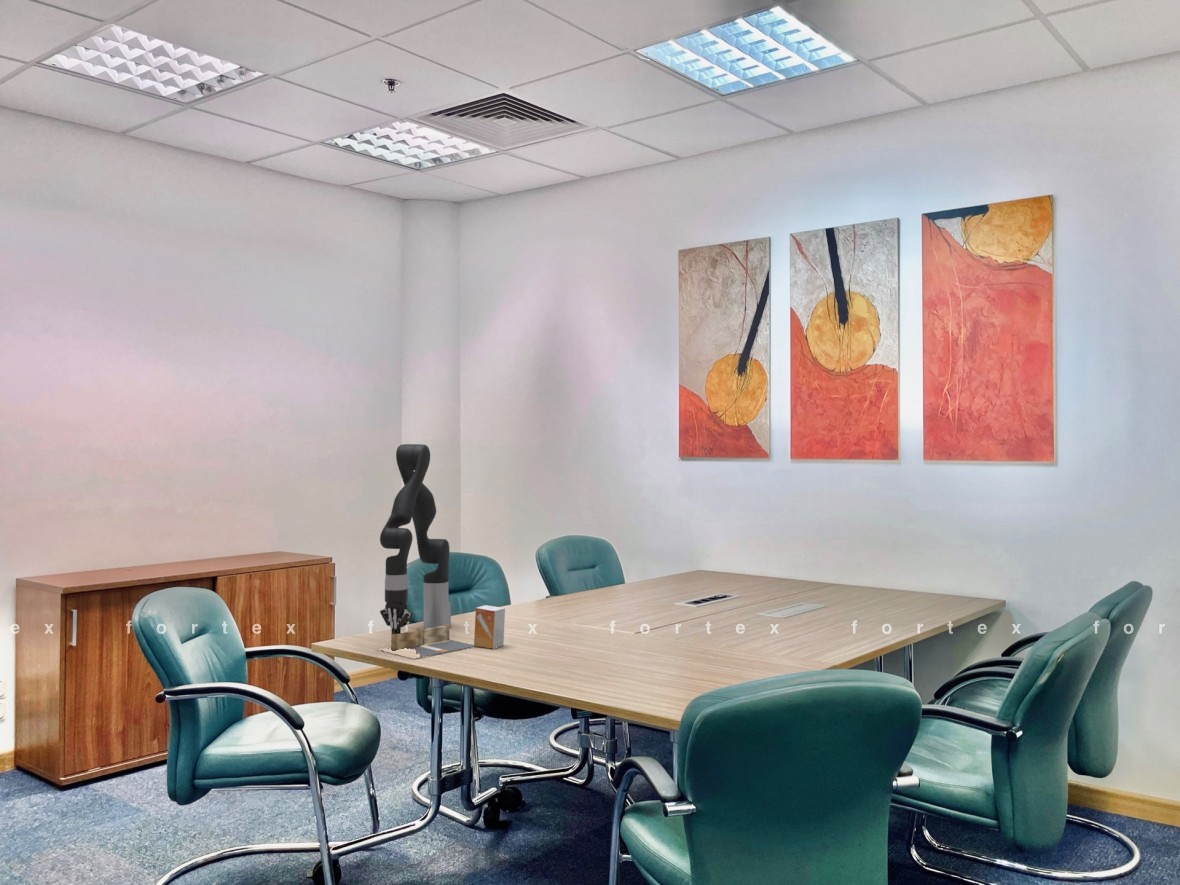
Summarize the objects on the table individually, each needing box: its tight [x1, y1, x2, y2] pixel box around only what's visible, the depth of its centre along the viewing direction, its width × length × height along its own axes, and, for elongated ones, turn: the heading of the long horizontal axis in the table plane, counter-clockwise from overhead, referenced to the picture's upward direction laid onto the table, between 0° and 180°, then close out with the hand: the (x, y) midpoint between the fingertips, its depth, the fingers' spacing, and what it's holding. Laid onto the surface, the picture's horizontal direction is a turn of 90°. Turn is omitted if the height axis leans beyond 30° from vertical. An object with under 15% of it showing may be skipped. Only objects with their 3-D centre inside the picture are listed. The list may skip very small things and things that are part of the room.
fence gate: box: [390, 629, 418, 651], centre depth 325 cm, size 11×2×5 cm, turn 142°
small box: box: [473, 604, 506, 649], centre depth 330 cm, size 8×6×13 cm
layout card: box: [388, 639, 477, 657], centre depth 327 cm, size 26×21×1 cm
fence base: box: [416, 624, 450, 646], centre depth 334 cm, size 13×2×6 cm, turn 136°
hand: (396, 639), depth 325 cm, fingers closed
